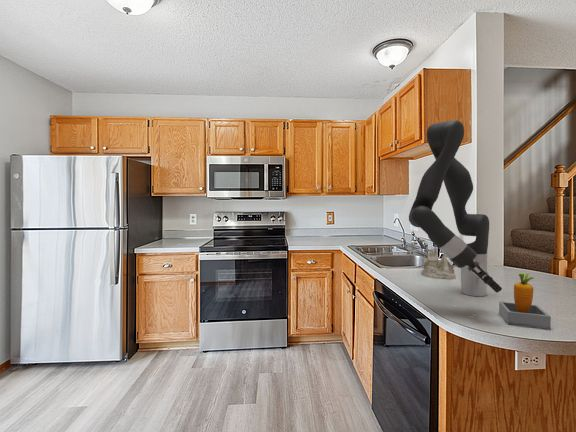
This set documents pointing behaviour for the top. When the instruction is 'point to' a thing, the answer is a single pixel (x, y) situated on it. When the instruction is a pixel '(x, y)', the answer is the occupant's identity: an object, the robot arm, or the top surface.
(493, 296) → the top surface
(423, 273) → the ceramic cottage
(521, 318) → the bin
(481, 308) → the top surface
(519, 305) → the carrot
